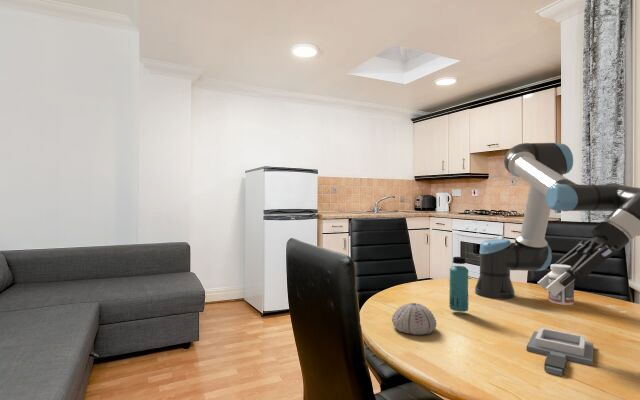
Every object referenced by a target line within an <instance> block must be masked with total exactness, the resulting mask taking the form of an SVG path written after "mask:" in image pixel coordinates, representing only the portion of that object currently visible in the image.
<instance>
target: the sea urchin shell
mask: <svg viewBox="0 0 640 400" xmlns="http://www.w3.org/2000/svg"><path fill="white" fill-rule="evenodd" d="M391 322H392V325H393V327H394V329H396V330H397V331H399V332H401V333H405V334H407V335H410V334H411V335H415V336H416V335H419V336H424V335H429V334H432V333H433V332H434V331H435V330H436V327H437V320H436V317H435V316H434V313H432V311H431V310H430V309H429V308H428V307H427V306H425V305H423V304H421V303H417V302H409V303H407V304H402V306H399V307H398V308H397V309H396V310H395V311H394V313H393V315H392V317H391Z"/></svg>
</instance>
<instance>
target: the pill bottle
mask: <svg viewBox="0 0 640 400" xmlns="http://www.w3.org/2000/svg"><path fill="white" fill-rule="evenodd" d="M549 267H550V270H551V271H552V272H551V273H549V272H548V273H549V276H548V280H549V281H548V282H549V285H550V284H551V283H552V282H553V281H554V280H556V279H557V278H558V277H559V276H561V275H562V274H563V273H564V272H567V271H566V269H571V266H568V265H562V264H555V263H552V264H551V263H550V266H549ZM567 273H568V272H567ZM568 274H569V273H568ZM574 288H575V280H574V281H573V282H572V283H570V284H569V285H568V286H567V287H566V288H564V289H563V290H562V291H561V292H559V293H558V294H557V295H556V296H554V295H553V294H552V293H550V292H549V291H548V301H549V302H550V303H553V304H557V305H563V306H569V305H570V306H571V305H574V302H575V289H574Z"/></svg>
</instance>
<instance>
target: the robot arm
mask: <svg viewBox="0 0 640 400" xmlns="http://www.w3.org/2000/svg"><path fill="white" fill-rule="evenodd" d="M503 163H504V164H503V165H504V167H505V169H506V170H507V171H508V173H510V174H511V175H512V176H514V177H517V178H519V177H520V178H521V179H523V180H524V181H526V182H527V183H528V184H529V189H528V194H527V197H526V199H527V200H526V205H525V210H524V215H523V220H522V225H521V231H520V234H518V235H516V236H515V241H514V242H511V240H510V239H508V238H495V239H487V240H483V241H482V242H481V243H480V245H479V246H480V247H479V276H478V280H477V282H476V285H475V288H474V289H475V290H474V292H475V294H476V295H478V296H481V297H484V298H490V299H498V300H510V299H514V298H515V297H516V295H515V294H516V292H515V289H514V286H513V283H512V280H511V271H522V272H523V271H524V272H525V271H526V272H527V271H528V272H530V271H531V272H537V271H545V270H546V269H548V267H550V265H551V262H552V258H553V255H552V249H551V247H550V245H549V243H548V241H547V240H546V238H545V237H546V232H547V228H548V222H549V219H550V213H551V210H552V211H561V212H610V214H608V215H607V216H606V217H605V218H604V220H603V221H601V222H599V223H598V224H597V225H596V226H595V227H593V228H592V229H591V233H592V234H593V238H591V239H588V240H586V241H584V240H581V241H579V242H578V243H577V244H576V246H574V247H573V248H572V249H570V250H569V251H568V252H567V253H566V254H564V255H563V256H562V257H560V258H559V259H558V260H557V261H556V262H554V264H562V265H568V266H571V269H566V271H567V272H568V273H569V274H568V273H567V272H564V273H563V274H562V275H561V276H559V277H558V278H557V279H556V280H554V281H553V282H552V283H551V284H550V285H549V282H548V281H549V280H548V276H549V273H551V272H552V270H551V271H549V272H547V274H546V275H544V277H542V278H541V279H540V280H539V281H537V284H538V285H539V286H540V287H541V288H542V289H543V290H544V291H548V293H549V292H550V293H552V294H553V295H554V296H556V295H557V294H558V293H559V292H561V291H562V290H563V289H564V288H566V287H567V286H568V285H569V284H570V283H572V282H573V281H574V282H575V280H579V279H580V280H581V281H582V280H584V279H586V277H588V276H589V275H590V274H591V273H592V272H594V271H595V270H596V269H597V268H598V267H600V266H601V264H604V262H605V261H606V260H608V259H609V258H611V257H613V256H614V255H615V253H614V252H613V251H620V250H621V249H623V248H624V247H625V246H626V245H627V244H629V243H630V240H633V239H635V238H636V237H637V236H638V237H639V236H640V187H634V186H628V185H622V184H620V183H610V182H608V183H607V182H606V183H602V184H578V183H576V182H573V181H572V180H570V179H568V178H567V177H565V176H563V175H566V174H568V173H570V171H571V170H572V168H573V167H574V166H573V165H574V155H573V153H572V150H571V148H570V147H569V146H568V145H567V144H565V143H562V142H561V143H559V142H538V143H537V142H524V143H519V144H516V145H514V146H513V147H511V148H510V149H509V150H507V152H506V153H505V155H504V158H503ZM612 250H613V251H612Z"/></svg>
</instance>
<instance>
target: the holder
mask: <svg viewBox="0 0 640 400" xmlns="http://www.w3.org/2000/svg"><path fill="white" fill-rule="evenodd" d="M526 351H527V352H530V353H531V352H532V353H535V354H540V355H544V356H546V359H545V360H544V371H545V373H548V374H552V375H555V376H560V377H562V376H564V375H565V372H566V366H567V361H570V362H575V363H578V364H582V365H586V366H593V363H594V362H593V361H594V360H593V359H594V343H593V342H590V341H586V336H585V335H581V334H575V333H572V332H565V331H559V330H555V329H550V328H546V327H541V326H540V327H539V329H538V330H537V331H533V333H532V335H531V337H530V339H529V341H528V342H527V345H526Z"/></svg>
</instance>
